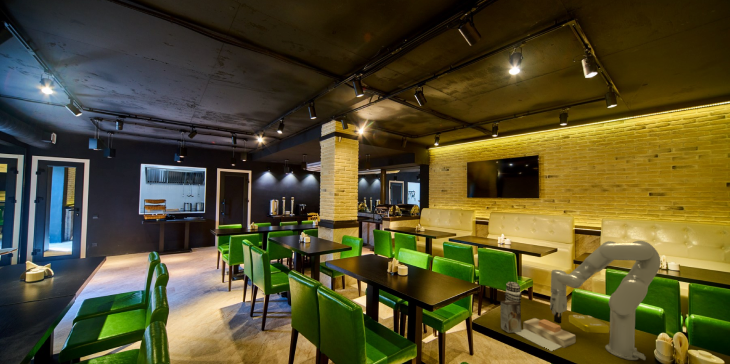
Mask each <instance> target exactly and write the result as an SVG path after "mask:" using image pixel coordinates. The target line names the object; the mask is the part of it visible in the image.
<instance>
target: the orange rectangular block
mask: <svg viewBox="0 0 730 364" xmlns="http://www.w3.org/2000/svg"><path fill="white" fill-rule="evenodd" d="M539 320H540V321H539V323H538V325H539V326H541V327H543V328H545V329H548V330H550V331H552V332H554V333H556V332H558V331H561V329H562V327H561V325H559V324H558V323H556V322H552V321H549V320H548V319H546V318H545V319H544V318H543V319H539Z"/></svg>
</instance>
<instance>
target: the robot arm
mask: <svg viewBox="0 0 730 364" xmlns="http://www.w3.org/2000/svg"><path fill="white" fill-rule="evenodd" d="M614 261H635V262H634V264H633V265H632V267H631V269H630V270H629V271H628V273H627V274H626V276H624V277H623V278H622V280H621V282H620V284H619V285H618V287H617V288H616V290H615V291H614V292H613V293H611V295H610V297H609V300H608V307H609V308H610V311H609V343H607V344H605V350H606V351H607V352H608V353H610V354H611V355H614V356H615V357H618V358H621V359H623V360H628V361H638V360H639V359H641V360H643V361H646V358H647V356H645V354H644V353H641V352H639V351H638V350H637V347H635V335H636V331H635V329H636V328H635V327H636V310H637V308H638V307H639V306H640V304H641V303H642V302H643V301H644V299H645V298H646V296H647V294H648V290H649V289H648V288H649V287H650V284H651V283H652V282H653V280H654V278H655V277H656V276H657V273H658V272H659V270H660V268H661V257H660V255H659V253H658V251H657V250H656V248H655V247H654V246H653V245H652V244H651V243H649V242H648V241H644V240H636V241H633V242H623V243H622V242H621V243H620V242H615V241H612V240H611V241H610V240H608V241H605V242H603V243H602V244H601V245H599V246H598V247H597V248H596V249H595V250H594V251H593V252H592V253H590V254H589V255H588V256H587V257H585V259H584V260H583V262H582V263H581V264H579V265H578V266H577V267H575V269H574V270H572V271H571V272H570V273H567V272H566V271H564V270H560V269H552V270H551V273H550V276H551V277H550V293H551V294H550V295H551V296H550V301H549V308H550V311H551V314H552V315H553V323H555V324H557V325H559V324H562V316H563V312H567V311H568V299H567V298H568V297H567V287H570V288H572V289H579V288H580V287H582V285H583V284H584V283H585V282H586V281H587V280H589V279H590V278H591V277H592V276H593V275H595V274H597V273H599V272H601V271H602V270H604V269H605V268H606V267H607V266H609V265H610V264H611V263H612V262H614Z"/></svg>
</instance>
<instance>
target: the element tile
mask: <svg viewBox="0 0 730 364" xmlns="http://www.w3.org/2000/svg"><path fill="white" fill-rule="evenodd" d="M568 322H569V323H570V324H572V325H573V326H575V327H576V328H578V329H579V330H581V331H583V332H585V333H589V334H610V325H608V324H606V323H604V322H602V321H601V320H599V319H597V318H595V317H593V316H591V315H588V314H587V315H586V314H585V315H583V314H569V315H568Z"/></svg>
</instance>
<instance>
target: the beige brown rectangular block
mask: <svg viewBox="0 0 730 364" xmlns="http://www.w3.org/2000/svg"><path fill="white" fill-rule="evenodd" d="M540 320H541V319H539V318H536V317H533V318H531V319H528V320H525V321H523V324H522V325H523V326H522V327H523V329H526V330H529V331H531V332H533V333H535V334H537V335H539V336H541V337H543V338H545V339H548V340H550V341H552V342H554V343H556V344H558V345H560V346H562V347H561V348H563V349H564V348H567V347H569V346H572V345H574V344H575V343H576V340H577V339H576V334H574V333H571V332H569V331H567V330H564V329H562V328H561V331H558V332H556V333H554V332H552V331H550V330H548V329H545V328H543V327H541V326H539V325H538V323H539V321H540ZM523 329H522V330H523Z"/></svg>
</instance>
